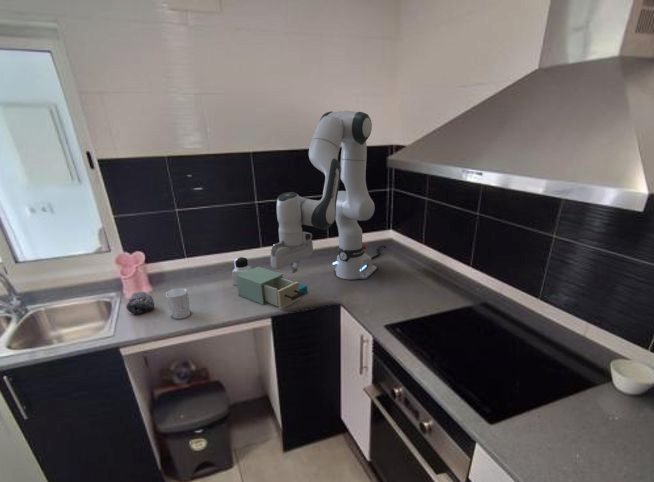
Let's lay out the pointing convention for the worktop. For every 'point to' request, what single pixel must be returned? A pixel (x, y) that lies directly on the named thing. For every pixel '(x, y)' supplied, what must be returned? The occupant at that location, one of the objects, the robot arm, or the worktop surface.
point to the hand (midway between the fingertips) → (293, 272)
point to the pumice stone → (140, 303)
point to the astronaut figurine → (240, 268)
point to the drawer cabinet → (255, 283)
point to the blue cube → (303, 288)
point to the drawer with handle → (281, 292)
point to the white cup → (178, 303)
